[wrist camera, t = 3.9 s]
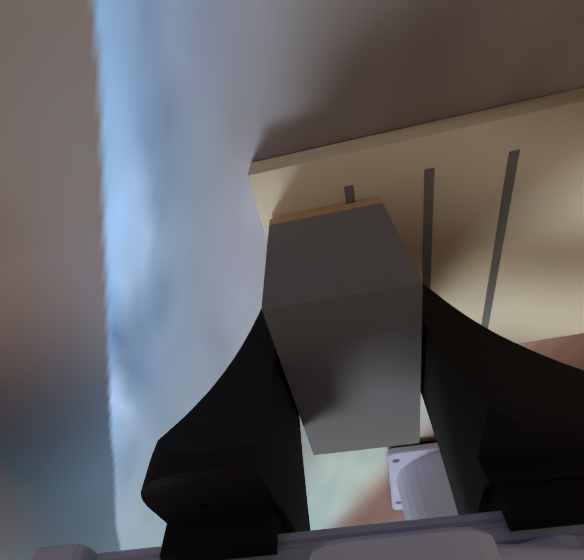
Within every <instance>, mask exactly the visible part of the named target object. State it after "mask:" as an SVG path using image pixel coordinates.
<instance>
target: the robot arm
mask: <svg viewBox="0 0 584 560" xmlns="http://www.w3.org/2000/svg"><path fill="white" fill-rule="evenodd" d="M421 394H422V397H423V400H424V403H425V406H426V409H427V412H428V415H429V418H430V421H431V424H432V428H433V431H434V434H435V437H436V440H437V442H436V443H428V444H420V445H413V446H405V447H397V448H391V449H389V450H388V451H387V460H388V470H389V480H390V490H391V501H392V507H393V509H395V510H402V509H403V511H404V515H405V519H406V521H398V522H388V523H379V524H370V525H360V526H351V527H341V528H332V529H322V530H313V531H310V523H309V514H308V505H307V496H306V486H305V476H304V466H303V455H302V444H301V432H300V419H299V412H298V409H297V407H296V404H295V401H294V398H293V395H292V393H291V390H290V387H289V384H288V381H287V379H286V376H285V373H284V370H283V368H282V365H281V362H280V359H279V356H278V354H277V351H276V348H275V345H274V342H273V340H272V337H271V334H270V331H269V329H268V326H267V323H266V320H265V317H264V315H263V312H262V308H261V311H260V313H259V315H258V317H257V319H256V321H255V323H254V325H253V327H252V329H251V331H250V333H249V335H248V336H247V338H246V340H245V341H244V343H243V345H242V347H241V348H240V350H239V352H238V353H237V355H236V356H235V358H234V359H233V361H232V362H231V364H230V365H229V366H228V368H227V369H226V371H225V372H224V373H223V374H222V376H221V377H220V378H219V380H218V381H217V382H216V383H215V385H214V386H213V387H212V388H211V389H210V391H209V392H208V393H207V394H206V395H205V396H204V397H203V398H202V399H201V400H200V402H199V403H198V404H197V405H196V406H195V407H194V408H193V409H192V410H191V411H190V412H189V413H188V414H187V415H186V416H185V417H184V418H183V419H182V420H180V421H179V422H178V423H177V424H176V425H175V426H174V427H173V428H172V429H170V430H169V431H168V432H167V433H166V434H165V435H164V436H163V437H161V438H160V439H159V440H158V442H157V444H156V447H155V449H154V452H153V454H152V457H151V460H150V463H149V466H148V470H147V473H146V477H145V480H144V483H143V487H142V490H141V497H142V500H143V501H144V503H145V504H146V505H147V506H148V507H149V508H150V509H151V510H152V511H153V512H155V513H156V514H157V515H158V516H159V517H160V518H161V519H163V520H164V521H165V522H166V523H167V526H166V530H165V535H164V539H163V543H162V546H161V547H152V548H142V549H133V550H123V551H114V552H104V553H96V551H95V550H93V549H92V548H91V547H89V546H86V545H82V544H65V545H56V546H46V547H40V548H38V549H37V550H36V551H35V553H34V556H33V557H32V560H584V371H583V370H581V369H578V368H575V367H572V366H569V365H566V364H563V363H561V362H558V361H556V360H553V359H551V358H548V357H546V356H543V355H541V354H539V353H536V352H534V351H532V350H529V349H527V348H525V347H523V346H521V345H518V344H516V343H514V342H512V341H510V340H508V339H506V338H504V337H502V336H500V335H498V334H496V333H495V332H493V331H491V330H489V329H487V328H486V327H484V326H482V325H481V324H479V323H477V322H475V321H474V320H472V319H471V318H469V317H468V316H466V315H465V314H463V313H462V312H460V311H459V310H457V309H456V308H455V307H453V306H452V305H450V304H449V303H448V302H446V301H445V300H444V299H443V298H441V297H440V296H439V295H438V294H436V293H435V292H434V291H432V290H431V289H430V288H429V287H428V286H427V285H425V284H424V283H423V298H422V345H421Z"/></svg>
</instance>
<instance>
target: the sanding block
mask: <svg viewBox="0 0 584 560" xmlns="http://www.w3.org/2000/svg"><path fill="white" fill-rule="evenodd" d="M422 298H423V282H422V280H421V278H420V276H419V274H418V272H417V270H416V268H415V266H414V264H413V262H412V260H411V258H410V256H409V254H408V252H407V250H406V248H405V246H404V244H403V242H402V240H401V238H400V236H399V234H398V232H397V230H396V228H395V226H394V224H393V222H392V220H391V218H390V216H389V214H388V213H387V211H386V209H385V207H384V205H383V203H382V201H381V199H380V197H379V198H374V199H369V200H364V201H359V202H354V203H349V204H344V205H339V206H334V207H329V208H324V209H319V210H314V211H309V212H304V213H299V214H293V215H288V216H283V217H278V218H273V219H270V221H269V232H268V243H267V254H266V266H265V277H264V288H263V299H262V312H263V315H264V317H265V320H266V323H267V326H268V329H269V331H270V334H271V337H272V340H273V342H274V345H275V348H276V351H277V354H278V356H279V359H280V362H281V365H282V368H283V370H284V373H285V376H286V379H287V381H288V384H289V387H290V390H291V393H292V395H293V398H294V401H295V404H296V407H297V409H298V412H299V415H300V418H301V420H302V423H303V426H304V429H305V432H306V434H307V437H308V440H309V443H310V446H311V448H312V451H313V454H314V455H318V454H327V453H336V452H345V451H354V450H363V449H371V448H380V447H389V446H398V445H407V444H416V443H419V438H420V392H421V345H422Z"/></svg>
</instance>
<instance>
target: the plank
mask: <svg viewBox="0 0 584 560" xmlns="http://www.w3.org/2000/svg"><path fill="white" fill-rule="evenodd" d="M248 178H249V181H250V185H251V188H252V191H253V195H254V198H255V202H256V205H257V208H258V212H259V215H260V218H261V222H262V225H263V228H264V232H265V235H266V238H267V242H268V232H269V221H270V219H273V218H278V217H283V216H288V215H293V214H299V213H304V212H309V211H314V210H319V209H324V208H329V207H334V206H339V205H344V204H349V203H354V202H359V201H364V200H369V199H374V198H379V197H380V199H381V201H382V203H383V205H384V207H385V209H386V211H387V213H388V214H389V216H390V218H391V220H392V222H393V224H394V226H395V228H396V230H397V232H398V234H399V236H400V238H401V240H402V242H403V244H404V246H405V248H406V250H407V252H408V254H409V256H410V258H411V260H412V262H413V264H414V266H415V268H416V270H417V272H418V274H419V276H420V278H421V280H422V282H423V283H424V284H425V285H427V286H428V287H429V288H430V289H431V290H432V291H434V292H435V293H436V294H438V295H439V296H440V297H441V298H443V299H444V300H445V301H446V302H448V303H449V304H450V305H452V306H453V307H455V308H456V309H457V310H459V311H460V312H462V313H463V314H465V315H466V316H468V317H469V318H471V319H472V320H474V321H475V322H477V323H479V324H481V325H482V326H484V327H486V328H487V329H489V330H491V331H493V332H495V333H496V334H498V335H500V336H502V337H504V338H506V339H508V340H510V341H512V342H514V343H516V344H517V343H523V342H530V341H536V340H542V339H549V338H555V337H562V336H568V335H575V334H581V333H584V88H580V89H575V90H571V91H566V92H562V93H557V94H553V95H549V96H544V97H540V98H535V99H531V100H526V101H522V102H518V103H513V104H509V105H504V106H500V107H495V108H491V109H487V110H482V111H478V112H473V113H469V114H465V115H460V116H456V117H451V118H447V119H442V120H438V121H434V122H429V123H425V124H420V125H416V126H411V127H407V128H403V129H398V130H394V131H389V132H385V133H380V134H376V135H372V136H367V137H363V138H358V139H354V140H349V141H345V142H341V143H336V144H332V145H327V146H323V147H319V148H314V149H310V150H305V151H301V152H296V153H292V154H288V155H283V156H279V157H274V158H270V159H265V160H261V161H257V162H252V163H250V168H249V172H248Z"/></svg>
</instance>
